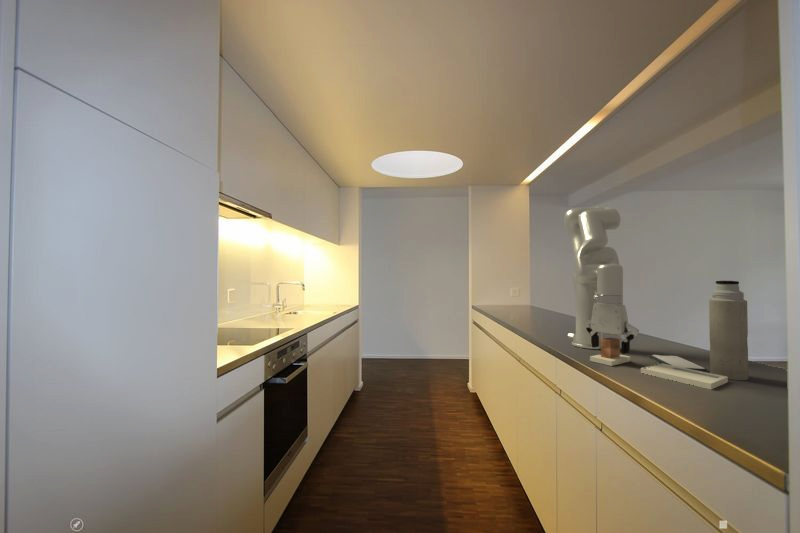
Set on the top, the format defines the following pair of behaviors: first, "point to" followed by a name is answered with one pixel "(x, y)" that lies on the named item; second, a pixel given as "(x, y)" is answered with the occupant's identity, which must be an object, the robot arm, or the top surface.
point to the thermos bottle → (728, 331)
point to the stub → (610, 353)
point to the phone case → (677, 362)
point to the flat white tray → (685, 375)
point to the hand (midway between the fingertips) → (609, 350)
